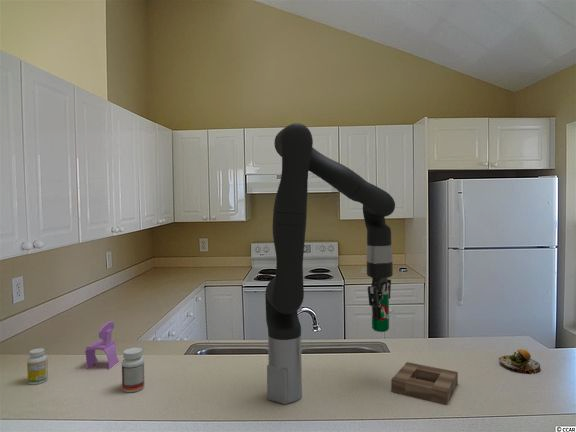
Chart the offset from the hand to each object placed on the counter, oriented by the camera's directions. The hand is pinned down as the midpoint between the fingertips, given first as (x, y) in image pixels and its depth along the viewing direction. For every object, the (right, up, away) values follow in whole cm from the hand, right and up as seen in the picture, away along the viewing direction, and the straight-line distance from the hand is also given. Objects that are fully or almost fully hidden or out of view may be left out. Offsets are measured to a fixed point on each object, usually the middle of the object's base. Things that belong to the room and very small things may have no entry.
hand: (380, 316), depth 123 cm
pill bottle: (-73, -21, -1) cm, 76 cm away
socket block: (+12, -20, -3) cm, 23 cm away
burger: (+47, -19, +11) cm, 52 cm away
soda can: (0, -4, 0) cm, 4 cm away
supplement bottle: (-105, -21, +5) cm, 107 cm away
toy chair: (-90, -21, +17) cm, 94 cm away
